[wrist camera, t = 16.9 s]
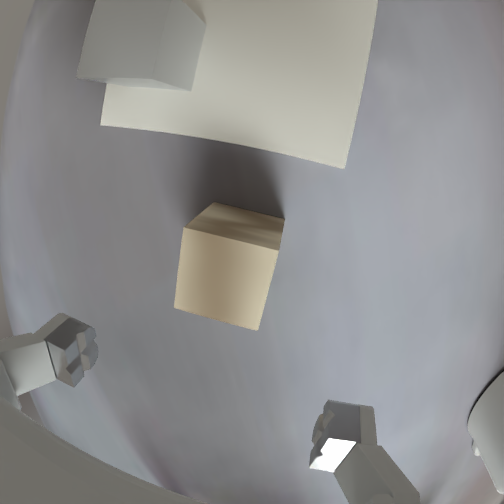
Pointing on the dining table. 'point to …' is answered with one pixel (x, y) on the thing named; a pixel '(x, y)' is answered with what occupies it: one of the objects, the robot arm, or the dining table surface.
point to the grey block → (142, 44)
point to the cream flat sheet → (265, 78)
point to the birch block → (228, 264)
